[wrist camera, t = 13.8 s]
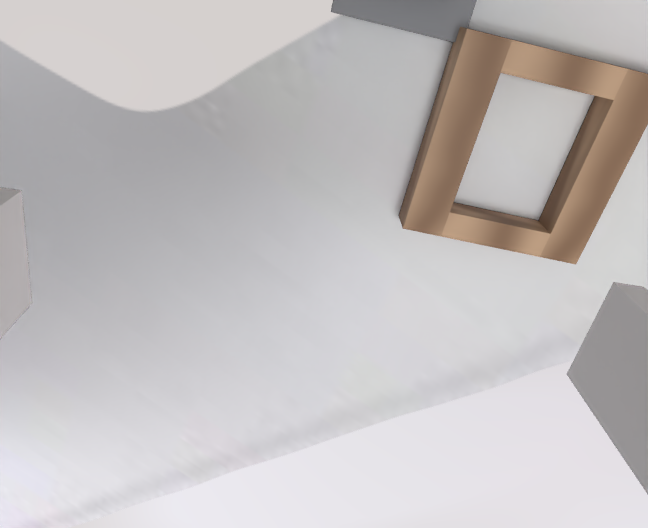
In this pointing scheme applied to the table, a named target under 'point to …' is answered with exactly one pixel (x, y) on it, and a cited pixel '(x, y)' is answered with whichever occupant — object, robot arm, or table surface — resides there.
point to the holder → (580, 166)
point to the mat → (412, 15)
